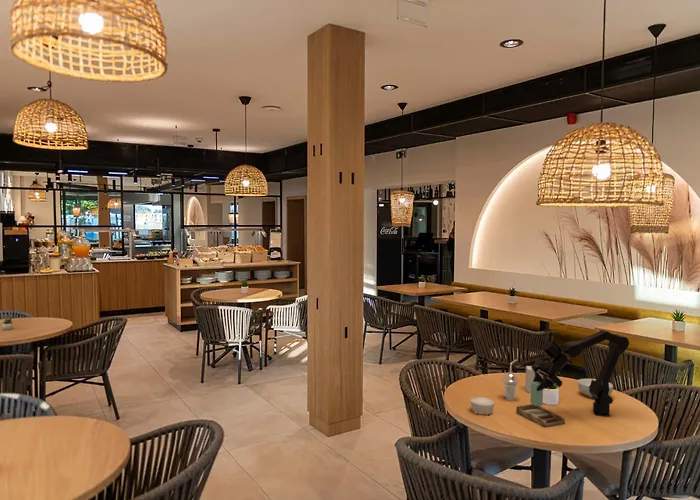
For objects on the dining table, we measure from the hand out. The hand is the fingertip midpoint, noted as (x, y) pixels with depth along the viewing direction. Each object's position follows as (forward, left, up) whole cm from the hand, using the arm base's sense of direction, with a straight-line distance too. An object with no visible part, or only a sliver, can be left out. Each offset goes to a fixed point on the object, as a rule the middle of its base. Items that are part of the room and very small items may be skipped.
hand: (534, 388), depth 243 cm
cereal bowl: (-33, -42, -14) cm, 55 cm away
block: (-1, -1, -7) cm, 8 cm away
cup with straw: (+10, -22, -14) cm, 28 cm away
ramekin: (+23, +1, -14) cm, 27 cm away
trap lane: (-3, +1, -13) cm, 14 cm away
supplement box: (-2, -40, -14) cm, 42 cm away
